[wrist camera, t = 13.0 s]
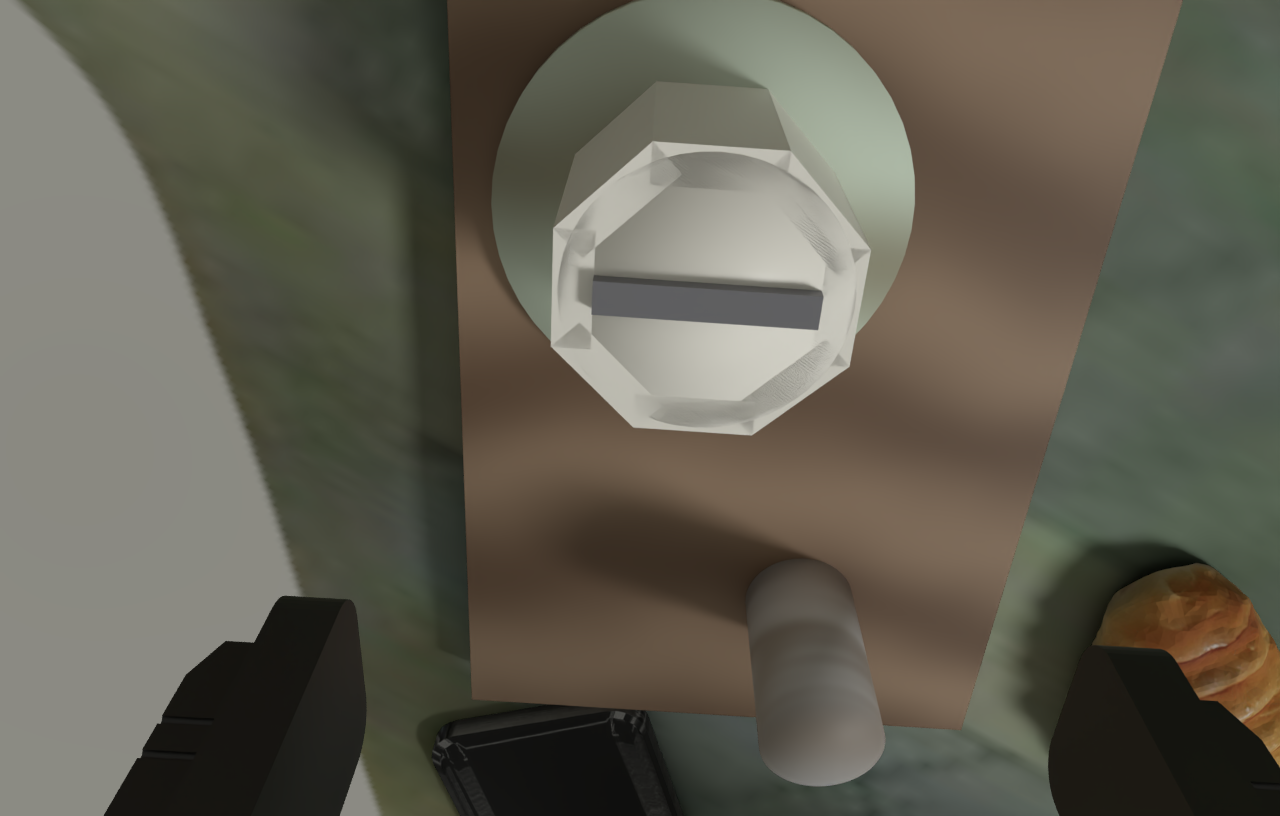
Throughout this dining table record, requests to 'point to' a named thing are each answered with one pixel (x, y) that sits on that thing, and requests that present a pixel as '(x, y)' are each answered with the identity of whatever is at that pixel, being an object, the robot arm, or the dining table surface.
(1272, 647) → the pastry
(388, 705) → the dining table surface
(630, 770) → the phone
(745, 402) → the cap
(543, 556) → the board
